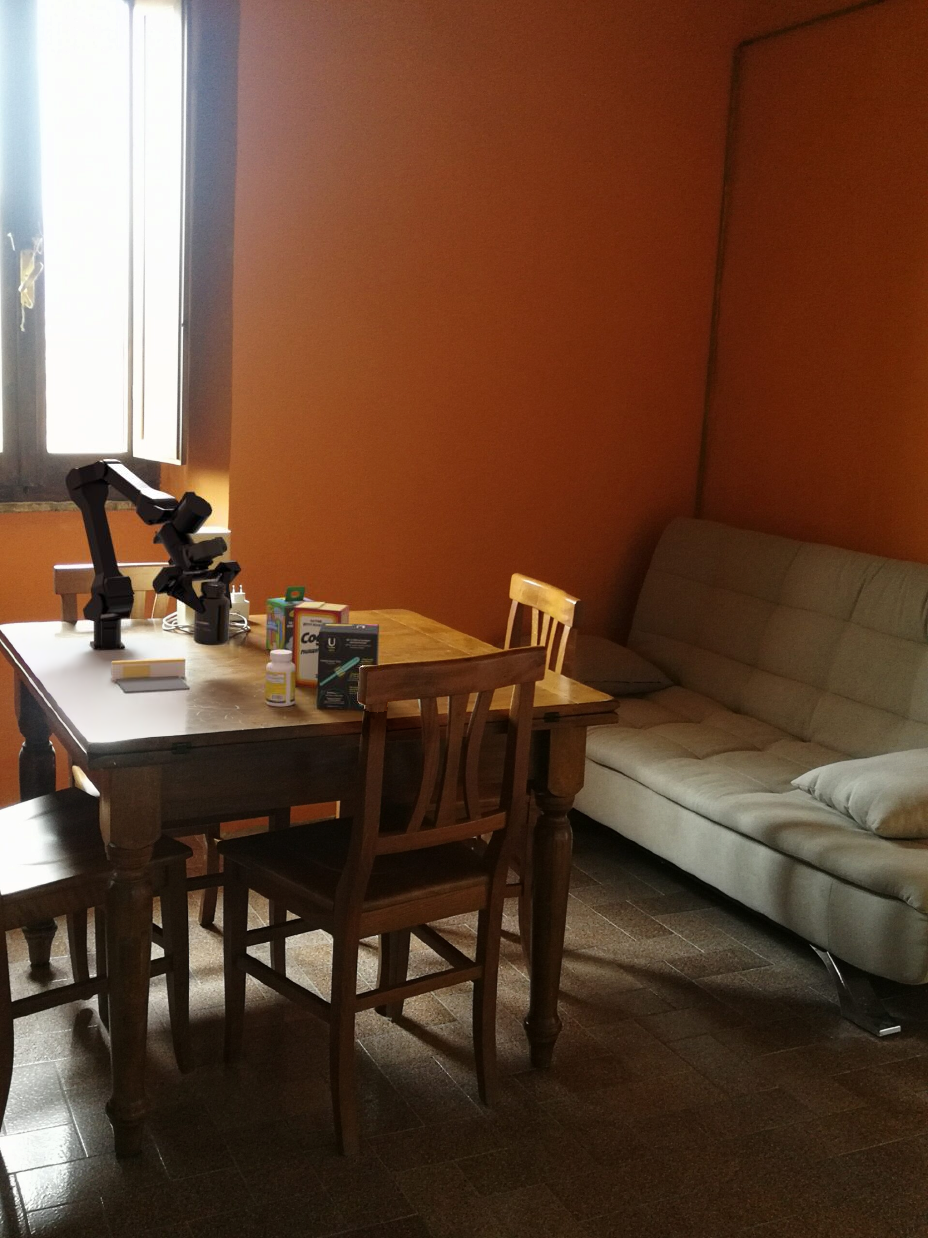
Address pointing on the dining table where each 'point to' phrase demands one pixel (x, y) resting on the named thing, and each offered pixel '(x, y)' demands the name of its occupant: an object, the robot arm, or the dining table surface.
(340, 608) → the baking soda box
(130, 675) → the rail
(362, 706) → the tampon box
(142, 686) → the shelf mat
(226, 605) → the supplement bottle
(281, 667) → the supplement bottle
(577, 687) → the dining table surface
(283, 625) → the chalk box
